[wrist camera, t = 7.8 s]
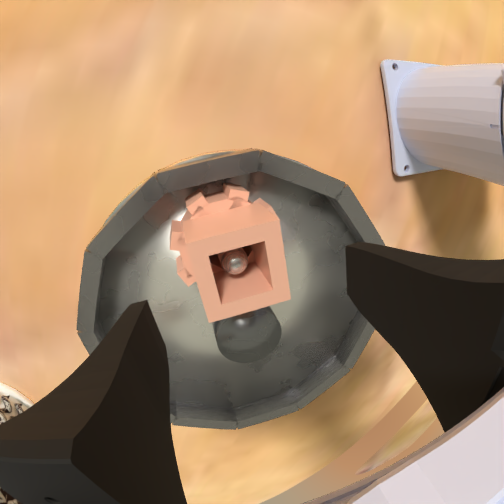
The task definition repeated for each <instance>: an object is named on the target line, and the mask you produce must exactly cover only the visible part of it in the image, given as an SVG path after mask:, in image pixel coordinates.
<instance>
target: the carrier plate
mask: <svg viewBox="0 0 504 504" xmlns="http://www.w3.org/2000/svg"><path fill="white" fill-rule="evenodd" d="M223 182H224V183H230V184H237V185H241V186H242V187H243V188H245V189H246V190H247V191H249V197H248V200H250V201H251V202H254V201H256V200H257V199H259V198H261V199H262V200H264V201H265V202H266V203H268V204H269V205H270V206H271V207H272V208H273V210H274V211H275V213H276V215H277V216H278V218H279V219H280V227H281V233H282V240H283V244H284V253H285V260H286V267H287V274H288V281H289V288H290V295H291V299H290V300H287V301H284V302H280V303H277V304H274V305H270V306H267V307H264V308H260V309H257V310H254V311H250V312H247V313H243V314H240V315H236V316H233V317H229V318H226V319H222V320H218V321H215V322H211V323H209V322H208V318H207V315H206V312H205V309H204V306H203V302H202V299H201V296H200V292H199V289H198V286H197V282H194V283H193V284H192V285H190V286H189V287H188V286H187V285H186V283H185V282H184V281H183V280H182V279H181V278H180V277H179V275H178V274H177V265H176V258H177V257H178V256H180V252H179V251H176V250H170V231H171V223H172V220H178V221H181V219H182V217H183V216H184V214H185V213H186V211H187V208H186V203H185V198H186V197H188V196H189V195H190V194H192V193H193V192H195V191H196V190H197V189H200V190H201V192H202V193H203V194H204V195H207V194H211V193H215V192H219V191H222V187H223ZM357 242H367V243H373V244H378V245H383V246H385V244H384V242H383V240H382V239H381V237H380V235H379V234H378V232H377V230H376V229H375V227H374V225H373V224H372V222H371V220H370V219H369V217H368V215H367V214H366V212H365V211H364V209H363V207H362V206H361V204H360V203H359V201H358V200H357V198H356V196H355V195H354V193H353V192H352V190H351V189H350V187H349V186H348V185H347V184H345V182H342V181H340V180H338V179H335V178H333V177H331V176H328V175H326V174H323V173H321V172H319V171H316V170H314V169H312V168H310V167H308V166H306V165H304V164H302V163H300V162H298V161H295V160H292V159H288V158H285V157H282V156H278V155H275V154H272V153H269V152H266V151H264V150H259V149H252V148H251V149H246V150H224V151H217V152H211V153H205V154H200V155H197V156H194V157H190V158H187V159H184V160H181V161H178V162H176V163H174V164H172V165H170V166H168V167H166V168H163V169H160V170H158V172H156V173H155V172H154V173H153V174H152V175H151V176H150V177H149V178H147V179H146V180H144V181H143V182H141V183H140V184H139V185H138V186H137V187H136V188H134V189H133V190H132V191H131V192H130V193H129V194H128V195H127V196H126V197H125V198H124V199H123V200H122V201H121V202H120V203H119V205H118V206H117V207H116V208H115V210H114V211H113V212H112V213H111V215H110V216H109V217H108V219H107V220H106V222H105V223H104V225H103V227H102V228H101V229H100V230H99V231H98V233H97V234H96V235H95V236H94V237H93V238H92V240H91V241H90V243H89V244H88V246H87V247H86V248H87V249H86V250H85V253H84V260H83V267H82V275H81V284H80V293H79V304H78V317H77V330H78V335H79V337H80V339H81V341H82V342H83V344H84V346H85V348H86V350H87V351H88V353H89V355H90V354H91V353H92V352H93V351H94V350H95V348H96V347H97V346H98V345H99V344H100V342H101V341H102V340H103V339H104V337H105V336H106V335H107V334H108V332H109V331H110V330H111V328H112V327H113V326H114V324H115V323H116V322H117V320H118V319H119V318H120V316H121V315H122V314H123V312H124V311H125V310H126V309H127V307H128V306H129V305H130V304H132V303H136V302H140V301H144V300H147V301H148V303H149V306H150V308H151V311H152V314H153V316H154V319H155V321H156V323H157V326H158V328H159V331H160V333H161V336H162V338H163V340H164V343H165V345H166V350H167V357H168V364H169V384H170V424H171V423H172V425H178V426H188V427H199V428H214V429H235V430H236V428H237V427H238V429H241V428H244V427H248V426H252V425H255V424H258V423H262V422H265V421H268V420H271V419H275V418H278V417H281V416H284V415H287V414H290V413H293V412H296V411H298V408H300V409H302V408H303V407H305V406H306V405H307V404H309V403H310V402H311V401H313V400H314V399H315V398H317V397H318V396H319V395H321V394H322V393H323V392H324V391H326V390H327V389H328V388H330V387H331V386H332V385H333V384H335V383H336V382H337V381H338V380H340V379H341V378H342V377H343V376H344V375H346V374H347V373H348V372H349V371H350V369H349V368H353V366H354V365H355V363H356V361H357V360H358V358H359V356H360V355H361V353H362V351H363V349H364V348H365V346H366V344H367V342H368V341H369V339H370V337H371V335H372V333H373V332H374V330H375V328H374V327H373V326H372V325H371V324H370V323H369V322H368V321H367V320H366V318H365V317H364V316H363V315H362V314H361V313H360V312H359V310H358V309H357V308H356V306H355V305H354V303H353V302H352V300H351V299H350V297H349V296H348V294H347V279H346V255H345V246H347V245H350V244H353V243H357ZM217 256H218V258H219V261H220V263H221V266H222V268H223V269H224V270H225V271H226V272H227V273H229V274H234V275H235V274H239V273H241V272H243V271H244V270H245V269H246V267H247V264H248V257H247V254H246V253H245V251H244V250H243V248H242V247H240V248H236V249H233V250H229V251H225V252H221V253H218V254H217Z"/></svg>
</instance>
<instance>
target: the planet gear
mask: <svg viewBox="0 0 504 504" xmlns="http://www.w3.org/2000/svg"><path fill="white" fill-rule="evenodd" d="M248 197H249V191H247V190H246V189H245V188H243V187H242V186H241V185H237V184H230V183H224V182H223V187H222V191H219V192H215V193H211V194H207V195H204V194H203V193H202V192H201V190H200V189H197V190H196V191H195V192H193V193H192V194H190V195H189V196H188V197H186V198H185V203H186V208H187V211H186V213H185V214H184V216H183V217H182V219H181V221H178V220H172V223H171V231H170V250H176V251H179V252H180V256H178V257H177V258H176V265H177V274H178V275H179V277H180V278H181V279H182V280H183V281H184V282H185V283H186V285H187V286H188V287H189V286H190V285H192V284H193V283H194V282H197V286H198V289H199V292H200V296H201V299H202V302H203V306H204V309H205V312H206V315H207V318H208V322H209V323H211V322H215V321H218V320H222V319H226V318H229V317H233V316H236V315H240V314H243V313H247V312H250V311H254V310H257V309H260V308H264V307H267V306H270V305H274V304H277V303H280V302H284V301H287V300H290V299H291V295H290V288H289V281H288V274H287V267H286V260H285V253H284V244H283V240H282V233H281V227H280V219H279V218H278V216H277V215H276V213H275V211H274V210H273V208H272V207H271V206H270V205H269V204H268V203H266V202H265V201H264V200H262V199H261V198H259V199H257V200H256V201H254V202H251V201H250V200H248ZM240 247H242V248H243V250H244V251H245V253H246V254H247V257H248V264H247V267H246V269H245V270H244V271H243V272H241V273H239V274H235V275H234V274H229V273H227V272H226V271H225V270H224V269H223V268H222V266H221V263H220V261H219V258H218V256H217V254H218V253H221V252H225V251H229V250H233V249H236V248H240Z"/></svg>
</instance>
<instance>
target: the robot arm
mask: <svg viewBox="0 0 504 504" xmlns="http://www.w3.org/2000/svg"><path fill="white" fill-rule="evenodd" d="M392 65H394V67H395V70H394V69H393V67H392ZM381 72H382V77H383V84H384V90H385V97H386V104H387V111H388V120H389V129H390V138H391V149H392V162H393V172H394V174H395V175H397V176H401V177H402V176H407V175H413V174H418V173H424V172H429V171H435V170H441V169H446V170H450V171H454V172H458V173H461V174H465V175H469V176H472V177H476V178H479V179H483V180H486V181H489V182H493V183H496V184H499V185H502V186H504V63H485V64H463V65H449V66H442V65H435V64H428V63H420V62H411V61H401V60H389V59H388V60H383V61H382V62H381ZM405 165H406V170H405V171H404V167H405ZM345 255H346V279H347V294H348V296H349V297H350V299H351V300H352V302H353V303H354V305H355V306H356V308H357V309H358V310H359V312H360V313H361V314H362V315H363V316H364V317H365V318H366V320H367V321H368V322H369V323H370V324H371V325H372V326H373V327H374V328H375V329H376V330H377V331H378V332H379V333H380V334H381V336H382V337H383V338H384V339H385V340H386V341H387V342H388V343H389V344H390V345H391V346H392V347H393V348H394V350H395V351H396V352H397V353H398V354H399V356H400V357H401V358H402V360H403V361H404V362H405V364H406V365H407V367H408V368H409V369H410V371H411V372H412V374H413V375H414V377H415V378H416V380H417V382H418V383H419V385H420V386H421V388H422V390H423V391H424V393H425V394H426V396H427V398H428V400H429V402H430V404H431V405H432V407H433V409H434V411H435V413H436V415H437V417H438V419H439V421H440V423H441V425H442V427H443V430H444V432H445V433H444V434H442V435H441V436H439V437H438V438H436V439H435V440H433V441H432V442H430V443H428V444H427V445H425V446H424V447H422V448H420V449H419V450H417V451H415V452H414V453H412V454H410V455H408V456H407V457H405V458H403V459H401V460H400V461H398V462H396V463H394V464H392V465H390V466H388V467H387V468H385V469H383V470H381V471H379V472H377V473H375V474H373V475H371V476H368V477H366V478H364V479H362V480H360V481H358V482H356V483H353V484H351V485H349V486H347V487H344V488H342V489H339V490H337V491H335V492H332V493H329V494H327V495H324V496H322V497H319V498H316V499H313V500H311V501H308V502H305V503H302V504H504V259H502V260H463V259H453V258H443V257H436V256H431V255H425V254H420V253H415V252H410V251H405V250H401V249H396V248H392V247H387V246H383V245H378V244H373V243H367V242H357V243H353V244H350V245H347V246H345ZM0 488H2V489H3V490H4V491H6V492H7V493H8V494H10V495H11V496H12V497H14V498H15V499H16V500H18V501H19V502H21V503H22V504H187V502H186V498H185V495H184V491H183V487H182V483H181V479H180V475H179V471H178V466H177V461H176V457H175V451H174V446H173V440H172V434H171V424H170V384H169V364H168V357H167V350H166V345H165V343H164V340H163V338H162V336H161V333H160V331H159V328H158V326H157V323H156V321H155V319H154V316H153V314H152V311H151V308H150V306H149V303H148V301H147V300H144V301H140V302H136V303H132V304H130V305H129V306H128V307H127V309H126V310H125V311H124V312H123V314H122V315H121V316H120V318H119V319H118V320H117V322H116V323H115V324H114V326H113V327H112V328H111V330H110V331H109V332H108V334H107V335H106V336H105V337H104V339H103V340H102V341H101V342H100V344H99V345H98V346H97V347H96V348H95V350H94V351H93V352H92V353H91V354H90V356H89V357H88V358H87V359H86V360H85V361H84V362H83V363H82V364H81V365H80V366H79V367H78V368H77V369H76V370H75V371H74V372H73V373H72V374H71V375H70V376H69V377H68V378H67V379H66V380H65V381H63V382H62V383H61V384H60V385H59V386H58V387H56V388H55V389H54V390H53V391H52V392H50V393H49V394H48V395H47V396H45V397H44V398H43V399H41V400H40V401H39V402H37V403H36V404H34V405H33V406H31V407H30V408H28V409H27V410H25V411H24V412H22V413H20V414H19V415H17V416H15V417H13V418H11V419H10V420H8V421H6V422H4V423H2V424H0Z"/></svg>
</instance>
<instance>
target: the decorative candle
mask: <svg viewBox="0 0 504 504" xmlns="http://www.w3.org/2000/svg"><path fill="white" fill-rule="evenodd" d="M33 405H34V403H33V402H32V401H31V400H30V399H29V398H27V397H26V396H24V395H23V394H22V393H20V392H19V391H18V390H16V389H15V388H12V387H10V386H8V385H6V384H4V383H2V382H0V424H2V423H4V422H6V421H8V420H10V419H11V418H13V417H15V416H17V415H19V414H20V413H22V412H24V411H25V410H27V409H28V408H30V407H31V406H33ZM0 504H22V503H21V502H19V501H18V500H16V499H15V498H14V497H12V496H11V495H10V494H8V493H7V492H6V491H4V490H3V489H2V488H0Z"/></svg>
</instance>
